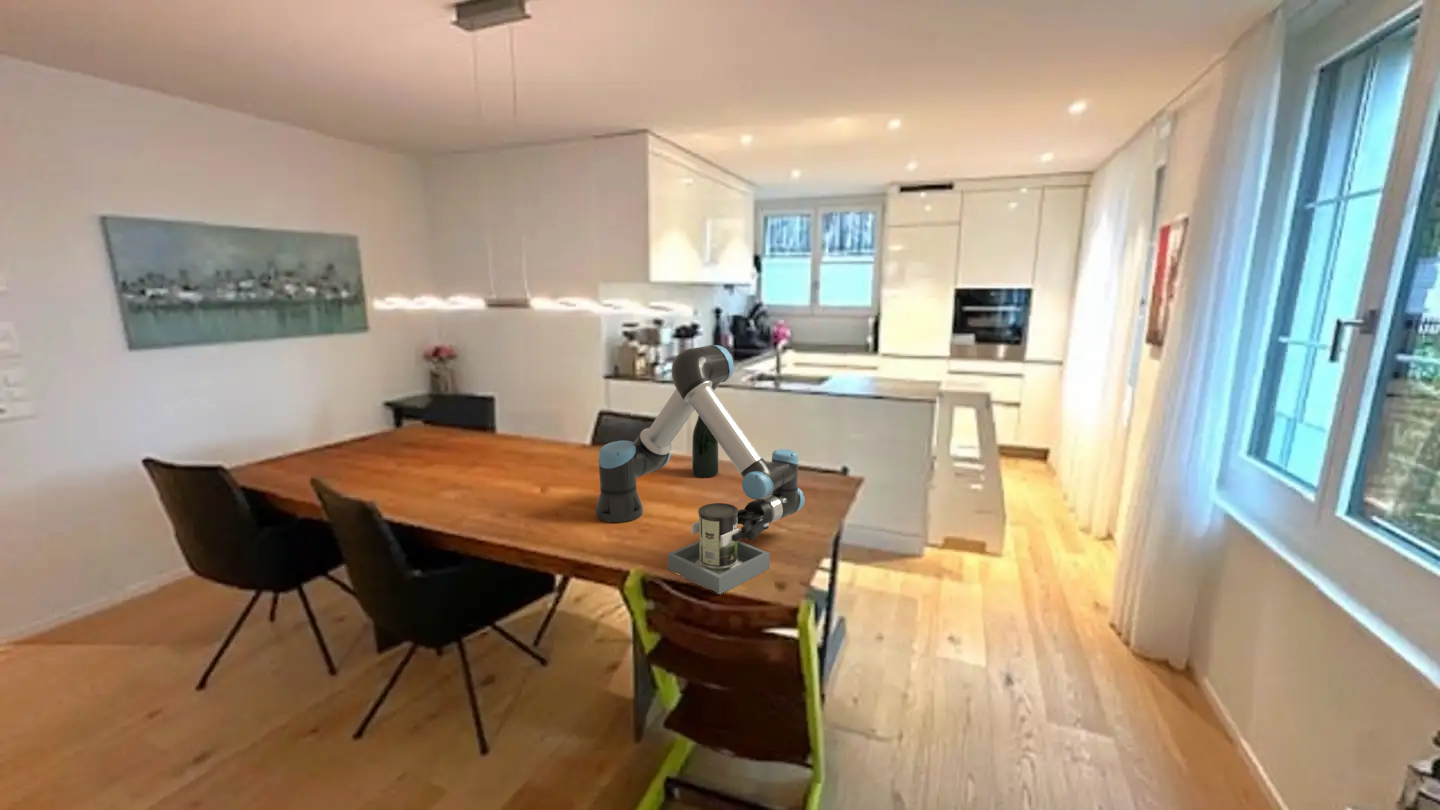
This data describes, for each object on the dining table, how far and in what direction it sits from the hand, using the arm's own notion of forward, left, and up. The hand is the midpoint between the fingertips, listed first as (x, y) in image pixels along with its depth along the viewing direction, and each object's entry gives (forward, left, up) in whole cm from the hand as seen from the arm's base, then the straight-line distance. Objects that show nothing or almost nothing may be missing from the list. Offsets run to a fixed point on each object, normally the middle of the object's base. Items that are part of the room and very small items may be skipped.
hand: (706, 535), depth 154 cm
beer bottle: (+22, +81, -11) cm, 84 cm away
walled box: (+4, +2, -11) cm, 12 cm away
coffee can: (+4, +2, -9) cm, 10 cm away
